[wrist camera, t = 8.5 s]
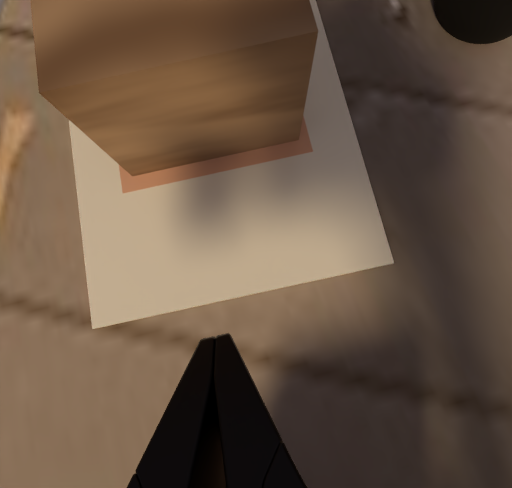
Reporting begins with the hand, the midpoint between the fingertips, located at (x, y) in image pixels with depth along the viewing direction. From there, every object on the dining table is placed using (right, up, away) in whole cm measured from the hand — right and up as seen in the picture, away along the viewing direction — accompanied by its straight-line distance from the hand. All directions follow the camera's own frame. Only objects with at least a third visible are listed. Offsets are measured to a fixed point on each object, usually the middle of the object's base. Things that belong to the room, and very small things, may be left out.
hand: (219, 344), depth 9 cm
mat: (-2, +12, +14) cm, 18 cm away
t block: (-3, +16, +14) cm, 22 cm away
